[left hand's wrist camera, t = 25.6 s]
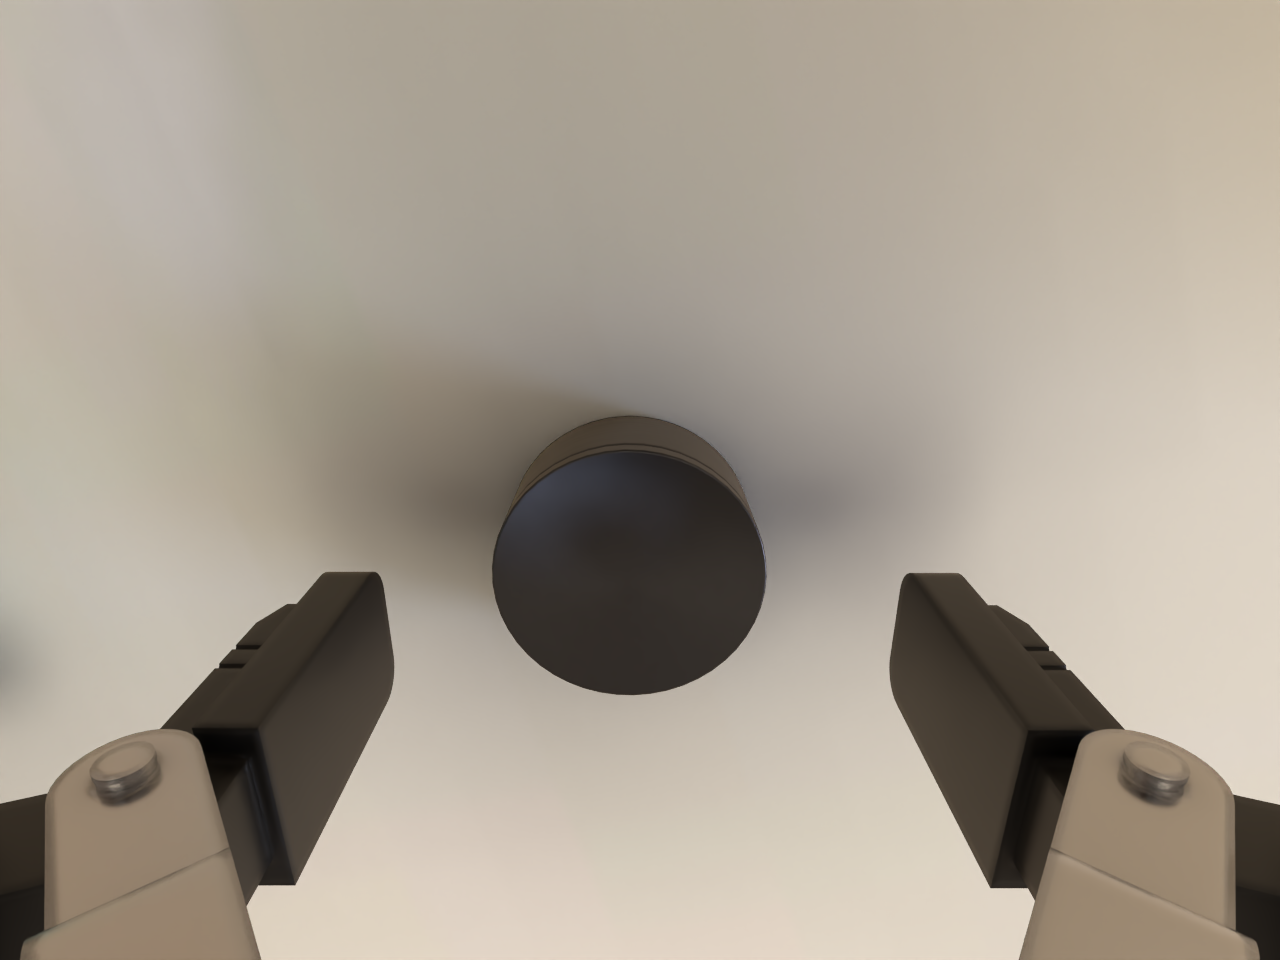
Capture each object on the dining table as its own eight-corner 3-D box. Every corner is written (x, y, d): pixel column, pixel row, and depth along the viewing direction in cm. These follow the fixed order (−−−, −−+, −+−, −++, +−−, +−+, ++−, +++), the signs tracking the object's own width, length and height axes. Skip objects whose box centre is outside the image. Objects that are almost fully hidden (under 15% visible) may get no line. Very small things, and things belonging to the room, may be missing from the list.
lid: (675, 665, 17) (681, 733, 15) (474, 572, 16) (448, 629, 14) (793, 484, 15) (820, 529, 13) (577, 371, 15) (567, 398, 12)
